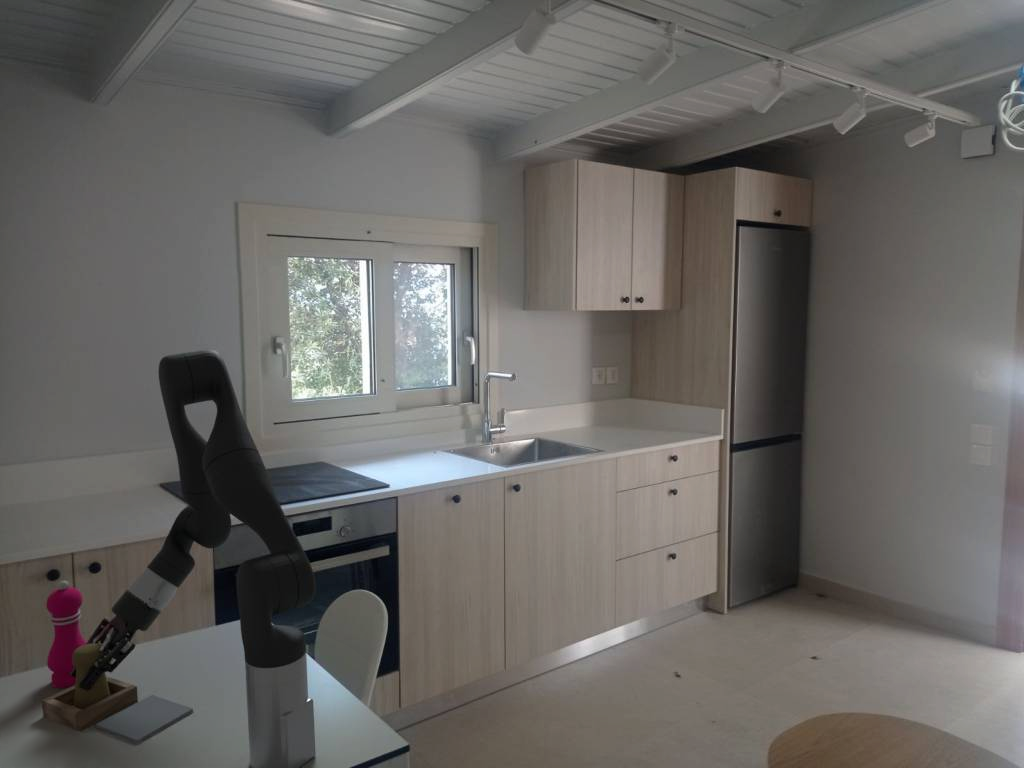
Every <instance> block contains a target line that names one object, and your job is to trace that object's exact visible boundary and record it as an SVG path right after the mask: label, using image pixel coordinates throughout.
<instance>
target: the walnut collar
mask: <svg viewBox="0 0 1024 768" xmlns="http://www.w3.org/2000/svg"><path fill="white" fill-rule="evenodd" d="M106 679H107V683H108V687H109V691H110V695H111V696H109V697H107V698H105V699H103V700H101V701H99V702H97V703H95V704H93V705H91V706H89V707H87V708H85V709H83V710H81V709H79V708H76V707H74V698H75V685H74V686H71V687H67V688H66V689H63V690H61V691H60V692H57V693H55V694H53V695H51V696H49V697H46V698H44V699H42V700H41V706H42V717H43V718H46V719H49V720H51V721H53V722H56V723H59V724H62V725H63V726H66V727H69V728H70V729H74V730H76V731H78V732H83V731H85V730H87V729H88V728H91V727H93V726H94V725H95V724H97V723H99V722H101V721H103V720H105V719H106V718H108V717H110V716H112V715H114V714H116V713H118V712H120V711H122V710H124V709H126V708H128V707H129V706H131V705H133V704H135V703H137V702H139V697H138V696H139V695H138V686H137V685H135V684H131V683H129V682H125V681H122V680H119V679H116V678H113V677H111V676H107V675H106ZM95 726H96V725H95Z"/></svg>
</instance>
